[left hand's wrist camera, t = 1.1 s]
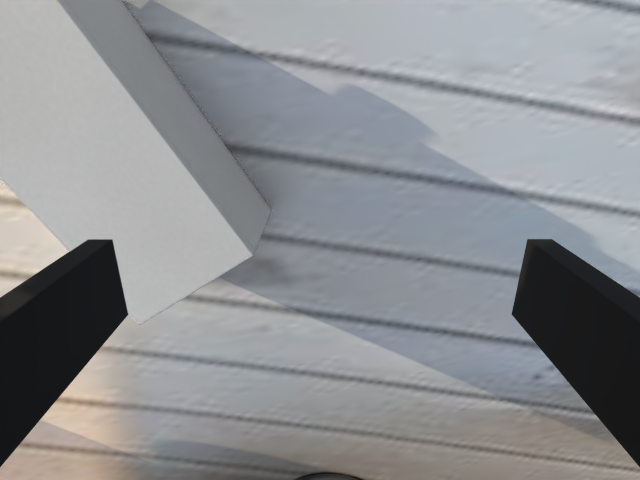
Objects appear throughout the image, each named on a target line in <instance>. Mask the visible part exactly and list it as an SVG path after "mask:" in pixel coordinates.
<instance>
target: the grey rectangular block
mask: <svg viewBox="0 0 640 480" xmlns="http://www.w3.org/2000/svg"><path fill="white" fill-rule="evenodd" d="M0 179H1V180H2V181H3V182H4V183H5V184H6V185H7V186H8V187H9V188H10V190H11V191H12V192H13V193H14V194H15V195H16V196H17V197H18V198H19V199H20V200H21V201H22V202H23V203H24V204H25V205H26V206H27V207H28V208H29V210H30V211H31V212H32V213H33V214H34V215H35V216H36V217H37V218H38V219H39V220H40V221H41V222H42V223H43V224H44V225H45V226H46V227H47V228H48V229H49V231H50V232H51V233H52V234H53V235H54V236H55V237H56V238H57V239H58V240H59V241H60V242H61V243H62V244H63V245H64V246H65V247H66V248H67V249H68V251H69V252H70V251H71V250H73V249H74V248H76V247H77V246H79V245H80V244H82V243H83V242H85V241H87V240H88V239H112V240H113V244H114V249H115V254H116V259H117V263H118V268H119V273H120V278H121V282H122V287H123V292H124V297H125V301H126V306H127V311H128V314H129V315H130V316H131V317H132V318H133V319H134V320H135V321H136V322H137V323H138V324H139V325H140V324H142V323H144V322H145V321H147V320H149V319H150V318H152V317H154V316H155V315H157V314H159V313H160V312H162V311H164V310H165V309H167V308H168V307H170V306H172V305H173V304H175V303H177V302H178V301H180V300H182V299H183V298H185V297H187V296H188V295H190V294H192V293H193V292H195V291H196V290H198V289H200V288H201V287H203V286H205V285H206V284H208V283H210V282H211V281H213V280H215V279H216V278H218V277H219V276H221V275H223V274H224V273H226V272H228V271H229V270H231V269H233V268H234V267H236V266H238V265H239V264H241V263H243V262H244V261H246V260H247V259H249V258H251V257H252V256H253V255H254V253H255V251H256V248H257V245H258V243H259V240H260V238H261V235H262V233H263V230H264V228H265V225H266V223H267V220H268V217H269V215H270V212H271V209H270V207H269V206H268V205H267V203H266V202H265V200H264V199H263V198H262V196H261V195H260V193H259V192H258V191H257V189H256V188H255V186H254V185H253V184H252V182H251V181H250V179H249V178H248V177H247V175H246V174H245V172H244V171H243V170H242V168H241V167H240V165H239V164H238V163H237V161H236V160H235V158H234V157H233V156H232V154H231V153H230V151H229V150H228V149H227V147H226V146H225V144H224V143H223V142H222V140H221V139H220V137H219V136H218V135H217V133H216V132H215V130H214V129H213V128H212V126H211V125H210V123H209V122H208V121H207V119H206V118H205V116H204V115H203V114H202V112H201V111H200V109H199V108H198V107H197V105H196V104H195V102H194V101H193V100H192V98H191V97H190V95H189V94H188V93H187V91H186V90H185V88H184V87H183V86H182V84H181V83H180V81H179V80H178V79H177V77H176V76H175V74H174V73H173V72H172V70H171V69H170V67H169V66H168V65H167V63H166V62H165V60H164V59H163V58H162V56H161V55H160V53H159V52H158V51H157V49H156V48H155V46H154V45H153V44H152V42H151V41H150V39H149V38H148V37H147V35H146V34H145V32H144V31H143V30H142V28H141V27H140V25H139V24H138V23H137V21H136V20H135V18H134V17H133V16H132V14H131V13H130V11H129V10H128V9H127V7H126V6H125V4H124V3H123V2H122V0H0Z"/></svg>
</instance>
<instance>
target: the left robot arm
mask: <svg viewBox="0 0 640 480" xmlns="http://www.w3.org/2000/svg"><path fill="white" fill-rule="evenodd" d="M127 315H128V311H127V306H126V301H125V297H124V292H123V287H122V282H121V278H120V273H119V268H118V263H117V259H116V254H115V249H114V244H113V240H112V239H88V240H87V241H85V242H83V243H82V244H80V245H79V246H77V247H76V248H74V249H73V250H71V251H70V252H68V253H67V254H65V255H64V256H62V257H61V258H59V259H58V260H56V261H55V262H53V263H52V264H50V265H49V266H47V267H46V268H44V269H43V270H41V271H40V272H38V273H37V274H35V275H34V276H32V277H31V278H29V279H28V280H26V281H25V282H23V283H22V284H20V285H19V286H17V287H16V288H14V289H13V290H11V291H10V292H8V293H7V294H5V295H4V296H2V297H1V298H0V467H1V466H2V464H3V463H4V462H5V461H6V460H7V458H8V457H9V456H10V455H11V454H12V452H13V451H14V450H15V449H16V448H17V446H18V445H19V444H20V443H21V442H22V440H23V439H24V438H25V437H26V436H27V435H28V433H29V432H30V431H31V430H32V429H33V427H34V426H35V425H36V424H37V423H38V421H39V420H40V419H41V418H42V417H43V415H44V414H45V413H46V412H47V411H48V409H49V408H50V407H51V406H52V405H53V403H54V402H55V401H56V400H57V399H58V398H59V396H60V395H61V394H62V393H63V392H64V390H65V389H66V388H67V387H68V386H69V384H70V383H71V382H72V381H73V380H74V378H75V377H76V376H77V375H78V374H79V372H80V371H81V370H82V369H83V368H84V366H85V365H86V364H87V363H88V362H89V361H90V359H91V358H92V357H93V356H94V355H95V353H96V352H97V351H98V350H99V349H100V347H101V346H102V345H103V344H104V343H105V341H106V340H107V339H108V338H109V337H110V335H111V334H112V333H113V332H114V331H115V330H116V328H117V327H118V326H119V325H120V324H121V322H122V321H123V320H124V319H125V318H126V316H127ZM512 315H513V316H514V318H515V319H516V320H517V321H518V322H519V324H520V325H521V326H522V327H523V328H524V330H525V331H526V332H527V333H528V334H529V335H530V337H531V338H532V339H533V340H534V341H535V343H536V344H537V345H538V346H539V347H540V349H541V350H542V351H543V352H544V353H545V355H546V356H547V357H548V358H549V359H550V361H551V362H552V363H553V364H554V365H555V367H556V368H557V369H558V370H559V371H560V372H561V374H562V375H563V376H564V377H565V378H566V380H567V381H568V382H569V383H570V384H571V386H572V387H573V388H574V389H575V390H576V392H577V393H578V394H579V395H580V396H581V398H582V399H583V400H584V401H585V402H586V403H587V405H588V406H589V407H590V408H591V409H592V411H593V412H594V413H595V414H596V415H597V417H598V418H599V419H600V420H601V421H602V423H603V424H604V425H605V426H606V427H607V429H608V430H609V431H610V432H611V433H612V435H613V436H614V437H615V438H616V439H617V440H618V442H619V443H620V444H621V445H622V446H623V448H624V449H625V450H626V451H627V452H628V454H629V455H630V456H631V457H632V458H633V460H634V461H635V462H636V463H637V464H638V466H639V467H640V298H639V297H638V296H636V295H635V294H633V293H632V292H630V291H629V290H627V289H626V288H624V287H623V286H621V285H620V284H618V283H617V282H615V281H614V280H612V279H611V278H609V277H608V276H606V275H605V274H603V273H602V272H600V271H599V270H597V269H596V268H594V267H593V266H591V265H590V264H588V263H587V262H585V261H584V260H582V259H581V258H579V257H578V256H576V255H575V254H573V253H572V252H570V251H569V250H567V249H566V248H564V247H563V246H561V245H560V244H558V243H557V242H555V241H553V240H552V239H528V240H527V244H526V249H525V254H524V259H523V263H522V268H521V273H520V278H519V282H518V287H517V292H516V297H515V301H514V306H513V311H512ZM298 480H359V479H356V478H353V477H350V476H346V475H340V474H316V475H311V476H307V477H303V478H300V479H298Z"/></svg>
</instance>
